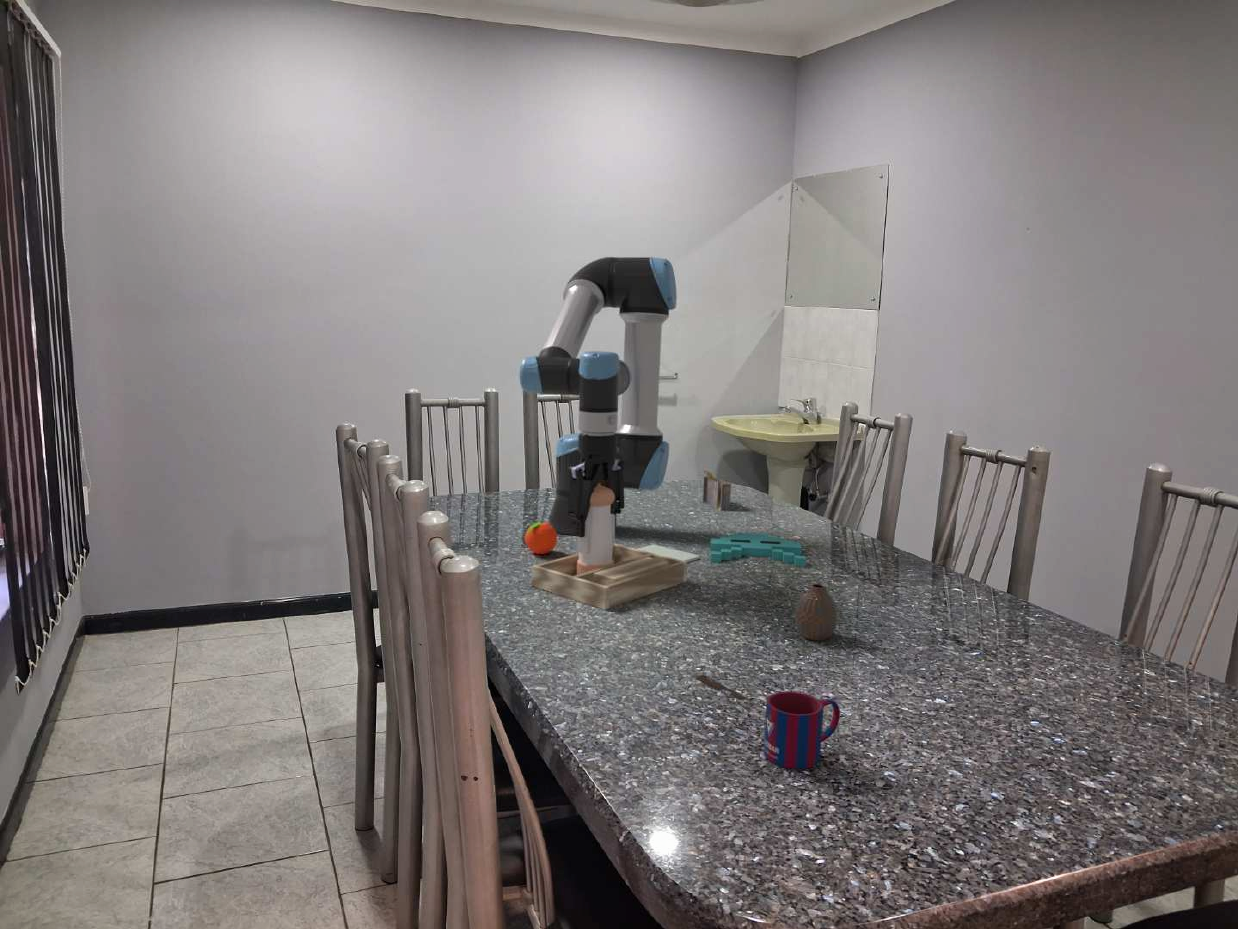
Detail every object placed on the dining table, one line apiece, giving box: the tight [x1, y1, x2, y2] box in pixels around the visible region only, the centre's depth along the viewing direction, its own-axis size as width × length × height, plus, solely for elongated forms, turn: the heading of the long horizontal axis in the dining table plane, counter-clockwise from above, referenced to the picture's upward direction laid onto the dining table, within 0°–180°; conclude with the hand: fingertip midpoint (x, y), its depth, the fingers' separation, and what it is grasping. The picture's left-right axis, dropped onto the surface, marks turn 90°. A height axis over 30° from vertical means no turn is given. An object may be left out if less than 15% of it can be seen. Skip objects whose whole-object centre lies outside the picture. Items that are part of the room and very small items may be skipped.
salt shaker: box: [577, 483, 615, 575], centre depth 176 cm, size 7×7×19 cm
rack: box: [530, 543, 688, 611], centre depth 175 cm, size 19×24×4 cm
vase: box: [794, 583, 839, 641], centre depth 149 cm, size 7×7×9 cm
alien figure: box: [710, 532, 807, 568], centre depth 201 cm, size 20×2×20 cm
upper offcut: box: [593, 557, 668, 586], centre depth 171 cm, size 5×16×2 cm, turn 139°
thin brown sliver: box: [695, 674, 750, 701], centre depth 128 cm, size 12×3×1 cm, turn 35°
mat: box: [637, 544, 701, 563], centre depth 194 cm, size 13×13×1 cm
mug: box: [763, 691, 841, 770], centre depth 109 cm, size 7×10×7 cm
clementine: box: [524, 521, 558, 555], centre depth 194 cm, size 8×7×7 cm
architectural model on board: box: [702, 469, 732, 512], centre depth 246 cm, size 11×3×10 cm, turn 20°
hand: (595, 548), depth 177 cm, fingers closed on salt shaker, 7 cm apart
